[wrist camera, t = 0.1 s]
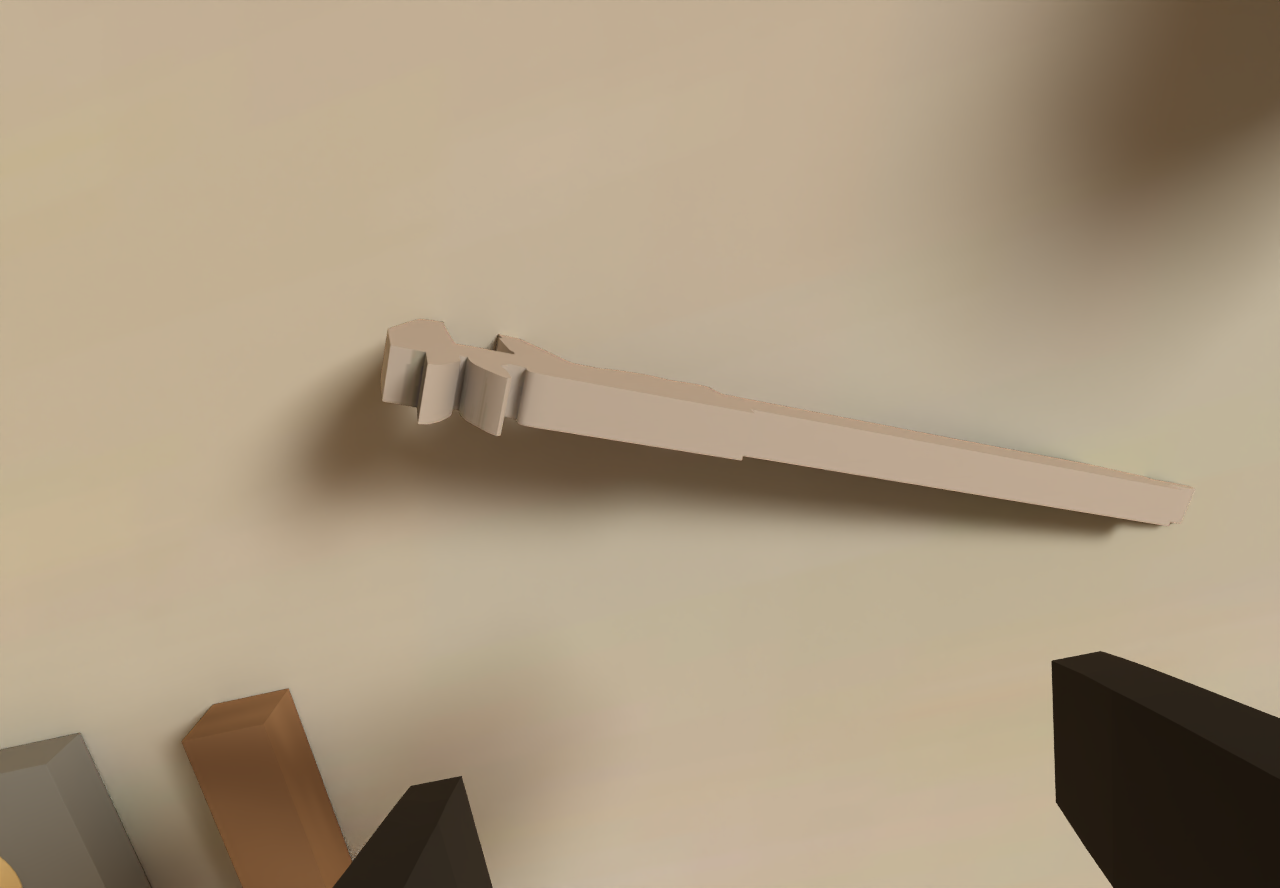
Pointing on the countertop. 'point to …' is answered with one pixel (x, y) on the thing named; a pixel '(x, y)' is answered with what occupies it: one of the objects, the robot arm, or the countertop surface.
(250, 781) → the rail
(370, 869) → the robot arm
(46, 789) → the bolt plate
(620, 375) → the caliper
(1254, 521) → the countertop surface
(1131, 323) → the countertop surface
